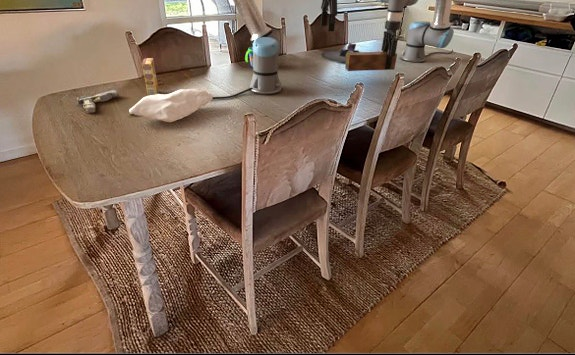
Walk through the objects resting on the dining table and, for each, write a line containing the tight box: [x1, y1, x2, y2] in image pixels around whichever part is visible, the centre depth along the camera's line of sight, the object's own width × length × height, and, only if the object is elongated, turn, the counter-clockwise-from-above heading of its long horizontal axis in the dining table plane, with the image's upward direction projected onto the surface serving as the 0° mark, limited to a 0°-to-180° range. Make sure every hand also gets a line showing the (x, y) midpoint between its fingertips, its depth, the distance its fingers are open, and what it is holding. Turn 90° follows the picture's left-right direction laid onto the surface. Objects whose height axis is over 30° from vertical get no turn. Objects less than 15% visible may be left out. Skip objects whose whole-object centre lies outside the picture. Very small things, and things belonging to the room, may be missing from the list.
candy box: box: [141, 57, 160, 96], centre depth 163 cm, size 9×4×15 cm, turn 13°
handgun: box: [76, 89, 120, 114], centre depth 155 cm, size 3×18×15 cm
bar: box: [344, 51, 398, 72], centre depth 191 cm, size 26×5×8 cm, turn 100°
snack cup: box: [244, 46, 253, 68], centre depth 208 cm, size 16×10×10 cm
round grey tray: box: [321, 42, 360, 64], centre depth 234 cm, size 35×35×9 cm
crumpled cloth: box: [129, 88, 214, 123], centre depth 147 cm, size 24×35×9 cm
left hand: (327, 28), depth 174 cm, fingers open, 13 cm apart
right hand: (385, 67), depth 194 cm, fingers closed on bar, 5 cm apart
